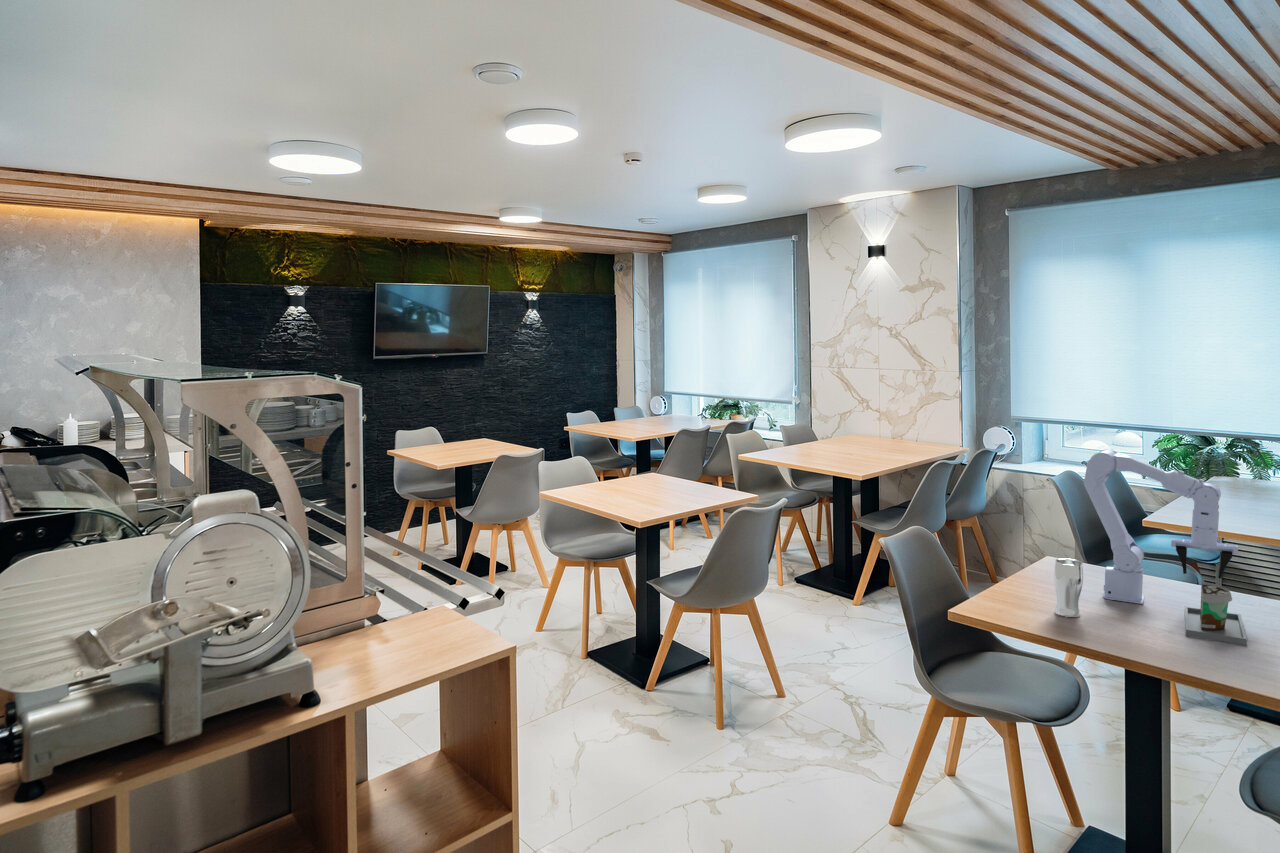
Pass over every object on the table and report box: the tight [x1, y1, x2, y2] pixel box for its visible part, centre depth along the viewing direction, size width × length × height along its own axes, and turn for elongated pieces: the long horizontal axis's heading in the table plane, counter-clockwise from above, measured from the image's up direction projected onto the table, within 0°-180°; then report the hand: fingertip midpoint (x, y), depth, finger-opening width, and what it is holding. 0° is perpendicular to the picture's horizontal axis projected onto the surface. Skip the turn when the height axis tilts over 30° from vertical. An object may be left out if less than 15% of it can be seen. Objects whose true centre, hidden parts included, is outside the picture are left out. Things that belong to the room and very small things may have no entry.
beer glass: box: [1053, 558, 1084, 618], centre depth 203 cm, size 7×7×15 cm
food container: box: [1200, 581, 1233, 631], centre depth 191 cm, size 12×6×10 cm, turn 144°
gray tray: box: [1184, 606, 1248, 646], centre depth 191 cm, size 12×20×2 cm, turn 144°
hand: (1202, 575), depth 202 cm, fingers open, 7 cm apart
